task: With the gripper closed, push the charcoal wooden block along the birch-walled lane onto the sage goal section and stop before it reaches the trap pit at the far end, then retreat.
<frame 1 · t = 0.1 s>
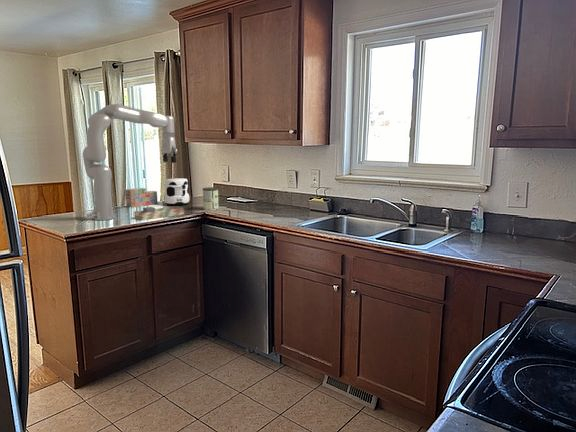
hand: (169, 162, 283), 31 cm above the worktop, fingers open, 9 cm apart
coffee can: (210, 209, 292), on the worktop
milk container: (177, 204, 311), on the worktop
lane: (160, 216, 265), on the worktop
block: (149, 214, 260), point 2 cm above the worktop, touching lane
stack of blocks: (142, 205, 306), on the worktop
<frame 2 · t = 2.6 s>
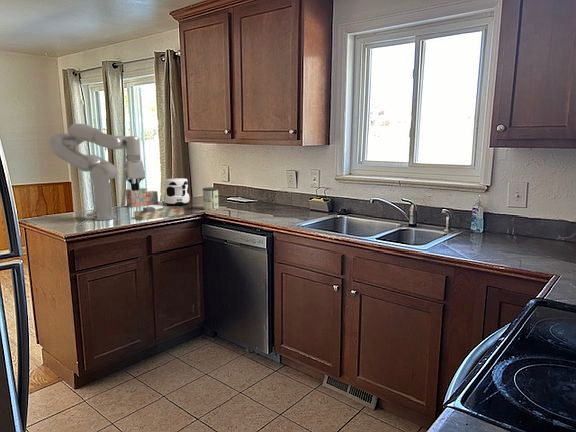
hand: (135, 190, 251), 17 cm above the worktop, fingers closed
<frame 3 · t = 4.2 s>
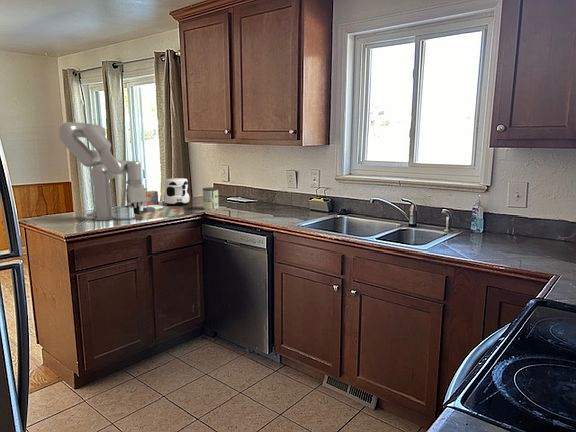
hand: (136, 214, 254), 3 cm above the worktop, fingers closed
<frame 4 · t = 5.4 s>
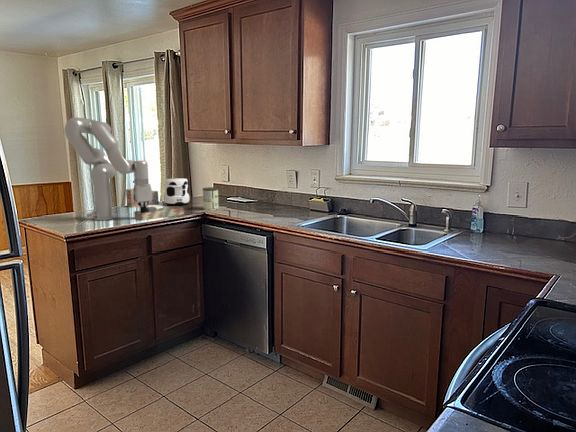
hand: (143, 213, 257), 3 cm above the worktop, fingers closed
block: (150, 214, 261), point 2 cm above the worktop, touching gripper
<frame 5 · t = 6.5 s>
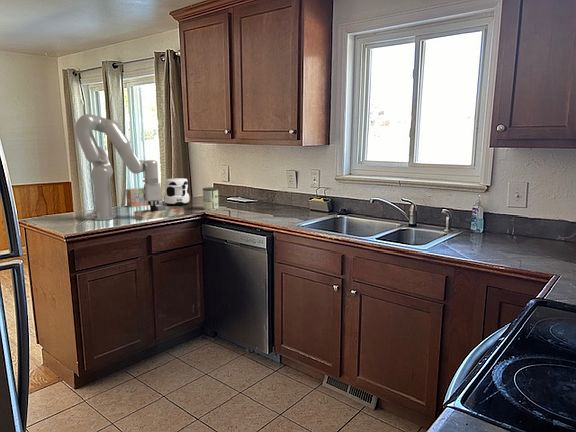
hand: (153, 211, 261), 3 cm above the worktop, fingers closed
block: (160, 212, 265), point 2 cm above the worktop, touching gripper, lane
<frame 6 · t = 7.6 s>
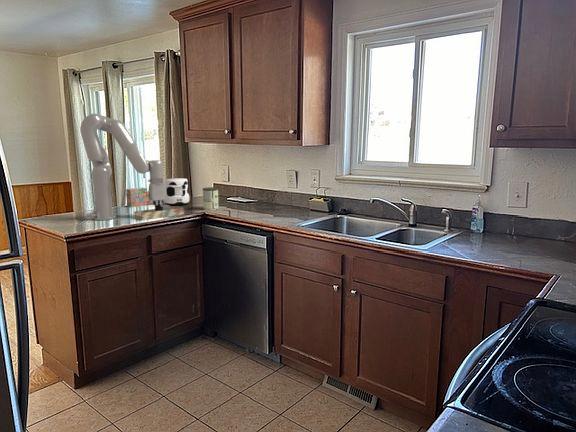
hand: (158, 211, 264), 3 cm above the worktop, fingers closed
block: (164, 212, 268), point 2 cm above the worktop, touching gripper, lane
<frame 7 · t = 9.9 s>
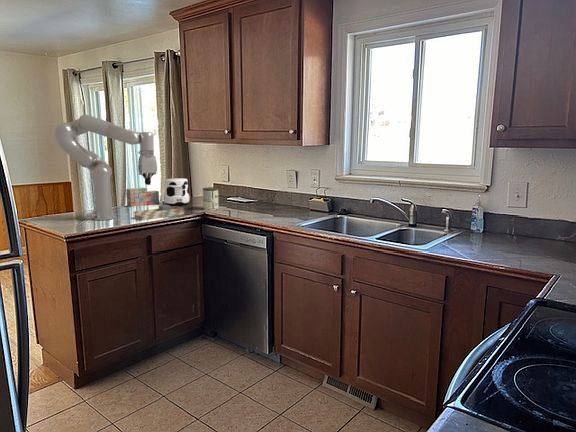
hand: (147, 184, 259), 20 cm above the worktop, fingers closed
block: (164, 212, 268), point 2 cm above the worktop, touching lane
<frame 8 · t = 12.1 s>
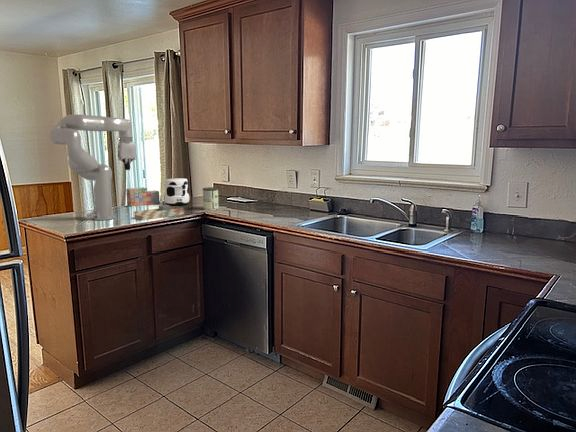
hand: (127, 169, 272), 27 cm above the worktop, fingers closed
at the end: block 0.9 cm from the target spot, point 2.0 cm above the worktop; block tilted 0° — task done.
